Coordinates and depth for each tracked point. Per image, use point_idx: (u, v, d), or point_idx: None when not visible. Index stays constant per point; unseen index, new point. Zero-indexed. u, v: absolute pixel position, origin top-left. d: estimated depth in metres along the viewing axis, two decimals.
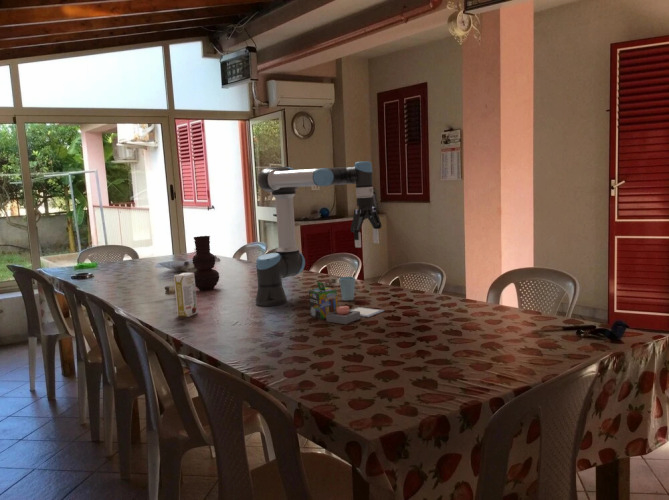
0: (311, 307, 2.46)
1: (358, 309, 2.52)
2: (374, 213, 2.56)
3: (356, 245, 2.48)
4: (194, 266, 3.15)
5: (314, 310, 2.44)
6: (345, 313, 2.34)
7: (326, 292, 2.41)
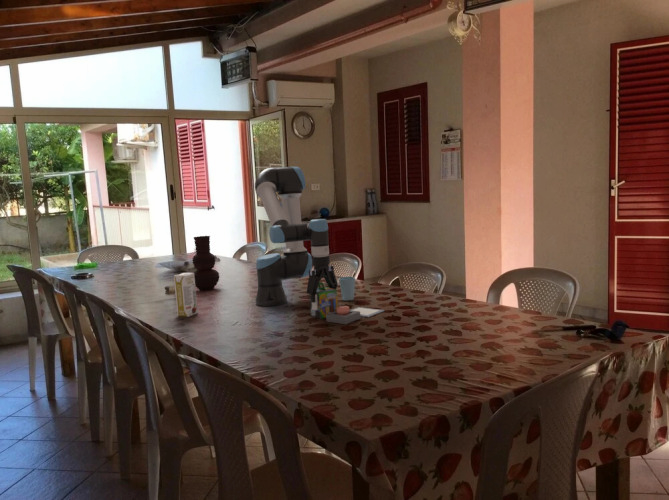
0: (311, 307, 2.46)
1: (358, 309, 2.52)
2: (330, 272, 2.48)
3: (313, 307, 2.41)
4: (194, 266, 3.15)
5: (314, 310, 2.44)
6: (345, 313, 2.34)
7: (326, 292, 2.41)
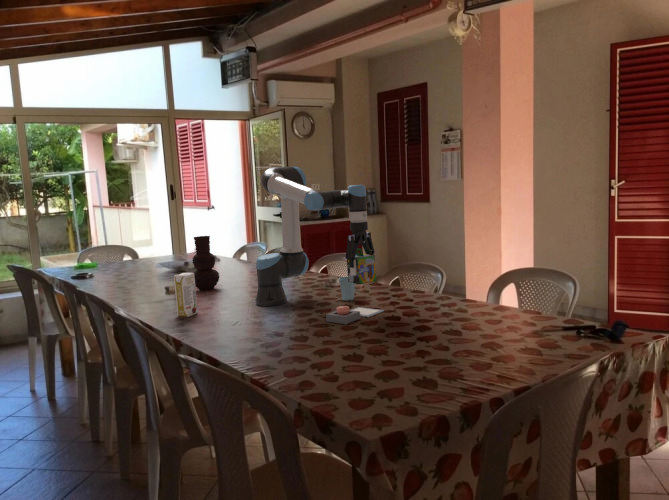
0: (348, 273, 2.46)
1: (358, 309, 2.52)
2: (368, 238, 2.48)
3: (351, 273, 2.41)
4: (194, 266, 3.15)
5: (352, 276, 2.44)
6: (345, 313, 2.34)
7: (365, 257, 2.41)
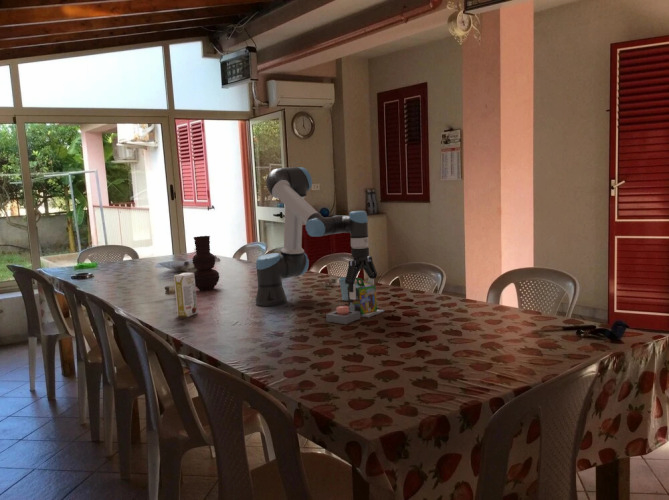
0: (349, 303, 2.47)
1: None
2: (369, 263, 2.49)
3: (351, 297, 2.42)
4: (194, 266, 3.15)
5: (353, 306, 2.45)
6: (345, 313, 2.34)
7: (366, 288, 2.42)
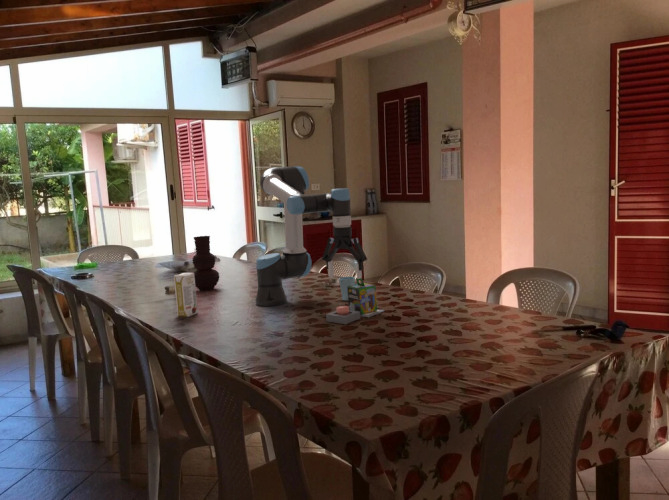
0: (349, 303, 2.47)
1: None
2: None
3: None
4: (194, 266, 3.15)
5: (353, 306, 2.45)
6: (345, 313, 2.34)
7: (366, 288, 2.42)
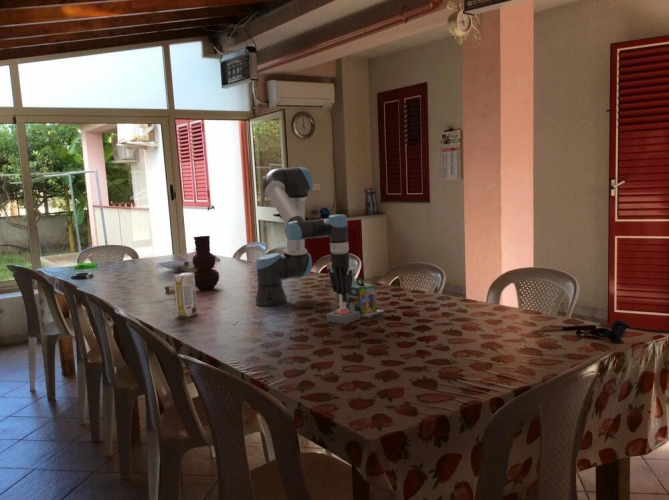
0: (349, 303, 2.47)
1: None
2: None
3: None
4: (194, 266, 3.15)
5: (353, 306, 2.45)
6: None
7: (366, 288, 2.42)
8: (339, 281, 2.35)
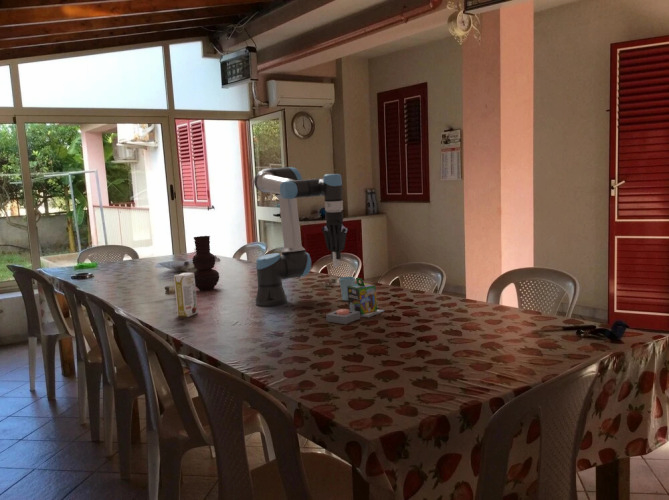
0: (349, 303, 2.47)
1: None
2: None
3: None
4: (194, 266, 3.15)
5: (353, 306, 2.45)
6: None
7: (366, 288, 2.42)
8: (333, 239, 2.41)
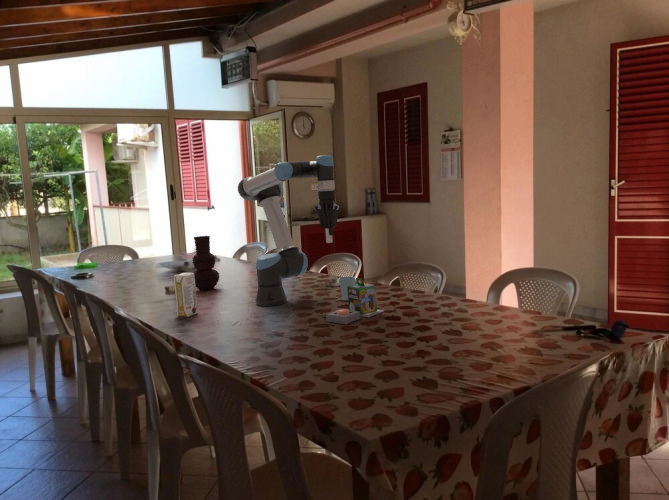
0: (349, 303, 2.47)
1: None
2: None
3: None
4: (194, 266, 3.15)
5: (353, 306, 2.45)
6: None
7: (366, 288, 2.42)
8: (326, 217, 2.58)
